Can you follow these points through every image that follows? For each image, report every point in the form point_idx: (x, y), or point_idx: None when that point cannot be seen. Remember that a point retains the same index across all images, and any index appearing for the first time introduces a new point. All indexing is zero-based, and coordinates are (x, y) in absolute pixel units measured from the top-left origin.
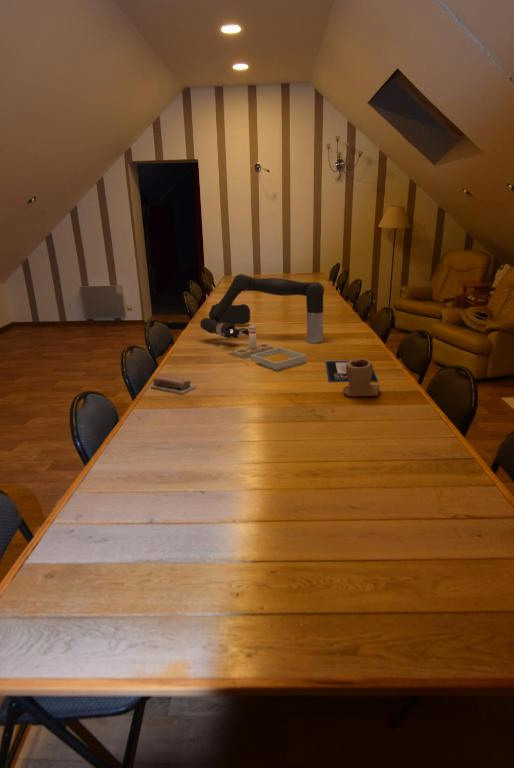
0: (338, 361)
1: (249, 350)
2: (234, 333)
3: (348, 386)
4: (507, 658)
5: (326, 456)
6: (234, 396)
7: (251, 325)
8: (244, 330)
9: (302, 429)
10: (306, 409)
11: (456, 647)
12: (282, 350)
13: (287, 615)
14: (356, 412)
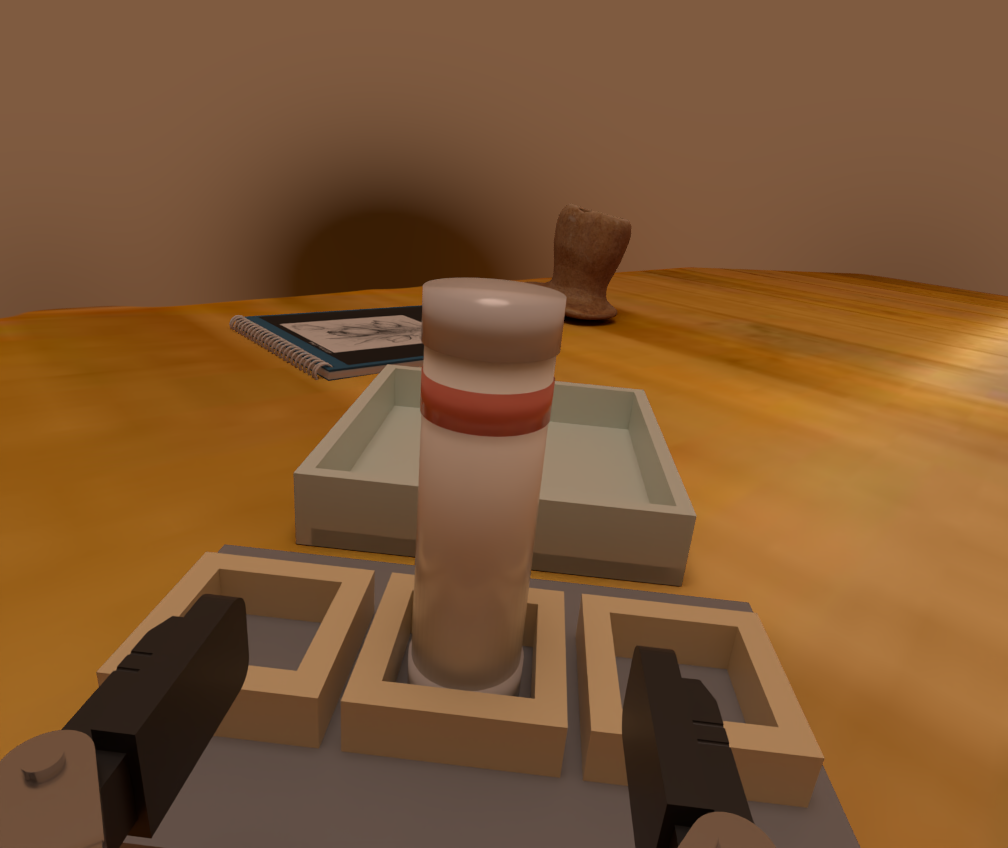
0: (307, 350)
1: (564, 634)
2: (666, 745)
3: (581, 305)
4: (851, 273)
5: (841, 312)
6: (993, 429)
7: (474, 297)
8: (98, 775)
9: (836, 331)
10: (768, 340)
11: (879, 278)
12: (329, 464)
13: (1005, 301)
14: (666, 310)
